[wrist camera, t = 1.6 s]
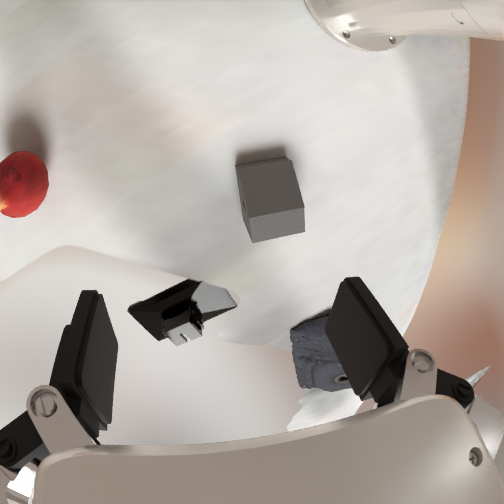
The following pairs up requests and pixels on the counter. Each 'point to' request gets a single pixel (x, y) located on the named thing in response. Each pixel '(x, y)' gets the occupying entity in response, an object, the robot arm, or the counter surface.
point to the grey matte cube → (270, 199)
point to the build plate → (181, 310)
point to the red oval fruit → (22, 184)
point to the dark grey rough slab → (316, 358)
